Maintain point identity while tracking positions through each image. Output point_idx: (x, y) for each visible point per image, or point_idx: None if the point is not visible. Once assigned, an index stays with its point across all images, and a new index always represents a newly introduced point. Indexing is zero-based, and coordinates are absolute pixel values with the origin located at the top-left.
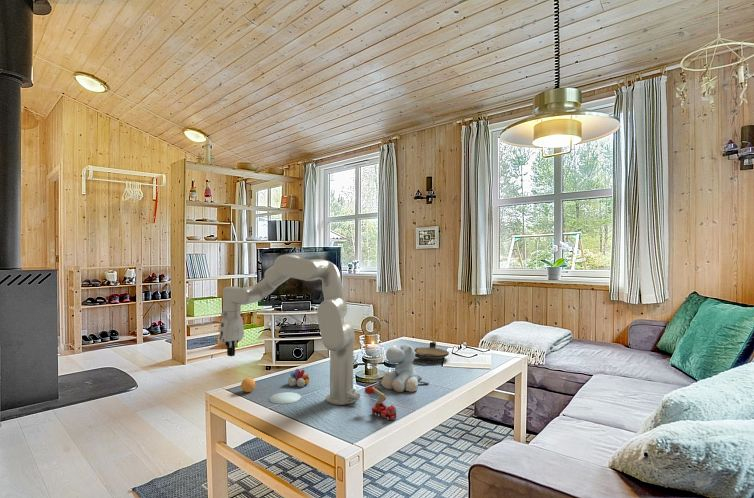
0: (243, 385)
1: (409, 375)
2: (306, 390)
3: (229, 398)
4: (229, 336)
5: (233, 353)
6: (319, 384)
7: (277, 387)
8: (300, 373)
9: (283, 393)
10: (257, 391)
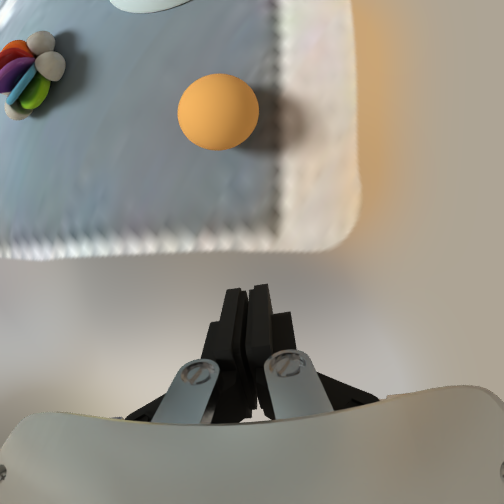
0: (255, 97)
1: None
2: (66, 5)
3: (333, 105)
4: (464, 492)
5: (242, 301)
6: None
7: (99, 87)
8: (13, 48)
9: (134, 2)
10: None
